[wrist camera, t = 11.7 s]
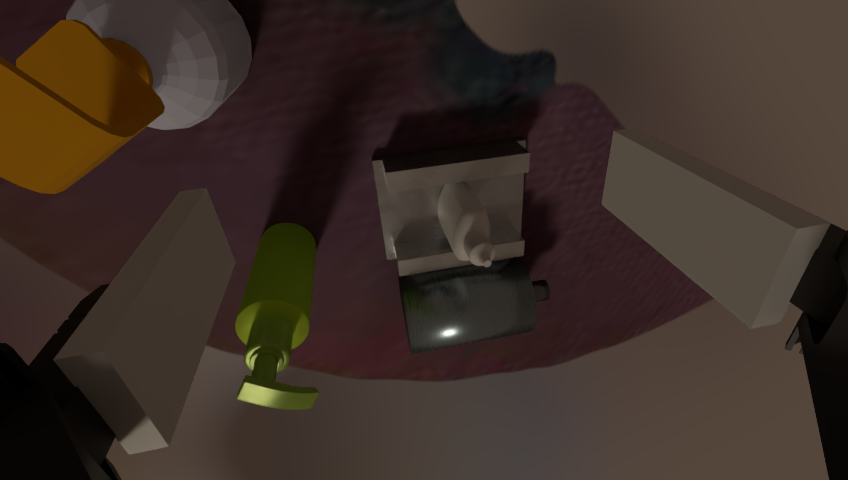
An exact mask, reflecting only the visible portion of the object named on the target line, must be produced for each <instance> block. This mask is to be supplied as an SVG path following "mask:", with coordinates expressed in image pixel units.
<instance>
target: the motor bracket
mask: <svg viewBox="0 0 848 480" xmlns="http://www.w3.org/2000/svg"><path fill="white" fill-rule="evenodd" d="M529 159H530V152H528V151H527V150H526V140H525V139H524V138H523V137H520V138H513V139H505V140H498V141H491V142H483V143H476V144H469V145H461V146H454V147H447V148H439V149H432V150H425V151H417V152H410V153H403V154H395V155H388V156H381V157H373V158H372V164H373V170H374V177H375V184H376V190H377V197H378V203H379V210H380V217H381V223H382V230H383V236H384V243H385V250H386V256H387V260H391V259H396V262H397V266H398V271H399V276H398V279H399V288H400V295H401V302H402V308H403V314H404V320H405V326H406V332H407V337H408V342H409V347H410V352H411V355H412V354H417V353H423V352H428V351H433V350H439V349H444V348H449V347H454V346H460V345H465V344H470V343H476V342H481V341H486V340H492V339H497V338H502V337H507V336H513V335H518V334H523V333H529V332H532V331H533V330H534V328H535V326H536V320H537V307H536V302H537V301H543V300H548V299H549V297H550V290H549V286H548V284H547V282H546V281H545V280H539V281H533V282H532V281H531V278H530V276H529V273H528V271H527V269H526V267H525V265H524V263H523V262H522V261H521V259H520V258H518V256H524V242H525V240H524V239H523V238H522V236H521V224H522V205H523V187H524V173H526V172H529ZM465 181H466V182H467V184H468V185H469V187H470V188H471V189H472V191H473V192H474V194H475V195H476V197H477V198H478V199H479V201H480V202H481V204H482V205H483V207H484V208H485V210H486V212H487V214H488V218H489V223H490V236H489V240H490V241H491V243H492V245H493V246H494V248H495V256H494V258H493V260H492V261H491V265H490V266H489V267H485V266H484V265H483V266H476V265H474V264H473V263H471V262H470V261H462V260H459V259H458V258H457V257H456V255H455V253H454V252H453V250H452V248H451V245H450V243H449V241H448V239H447V237H446V235H445V233H444V231H443V229H442V226H441V224H440V222H439V218H438V212H437V205H438V199H439V195H440V192H441V190H442V188H443V186H444V184H451V183H458V182H465Z"/></svg>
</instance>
